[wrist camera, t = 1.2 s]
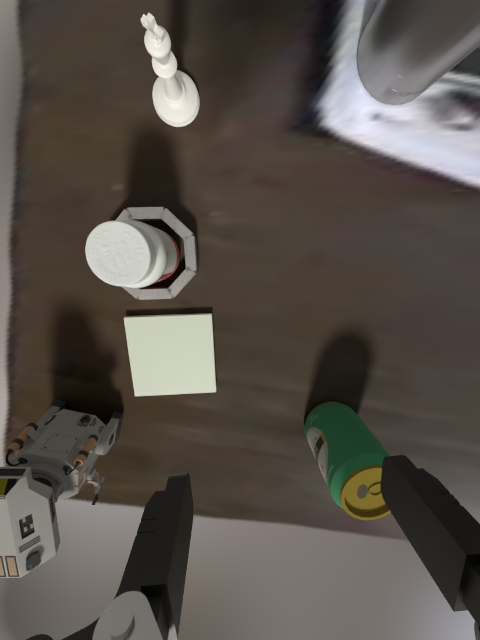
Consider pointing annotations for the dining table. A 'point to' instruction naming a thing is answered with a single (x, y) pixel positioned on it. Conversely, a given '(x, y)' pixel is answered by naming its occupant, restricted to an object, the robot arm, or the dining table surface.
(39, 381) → the dining table surface
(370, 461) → the beverage can
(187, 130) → the dining table surface
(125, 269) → the pill bottle
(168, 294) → the steel collar
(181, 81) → the chess piece
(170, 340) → the sage pad
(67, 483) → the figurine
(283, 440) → the dining table surface
